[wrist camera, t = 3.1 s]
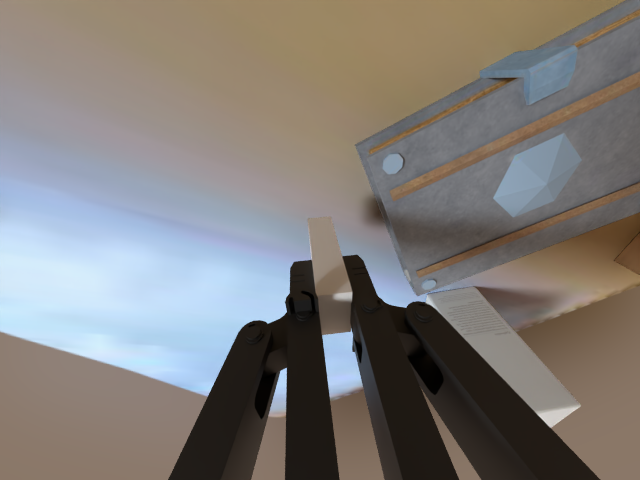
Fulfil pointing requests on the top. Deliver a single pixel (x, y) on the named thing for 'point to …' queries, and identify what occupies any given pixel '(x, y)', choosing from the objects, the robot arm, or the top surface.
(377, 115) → the top surface
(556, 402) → the small box
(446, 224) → the book
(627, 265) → the rail
